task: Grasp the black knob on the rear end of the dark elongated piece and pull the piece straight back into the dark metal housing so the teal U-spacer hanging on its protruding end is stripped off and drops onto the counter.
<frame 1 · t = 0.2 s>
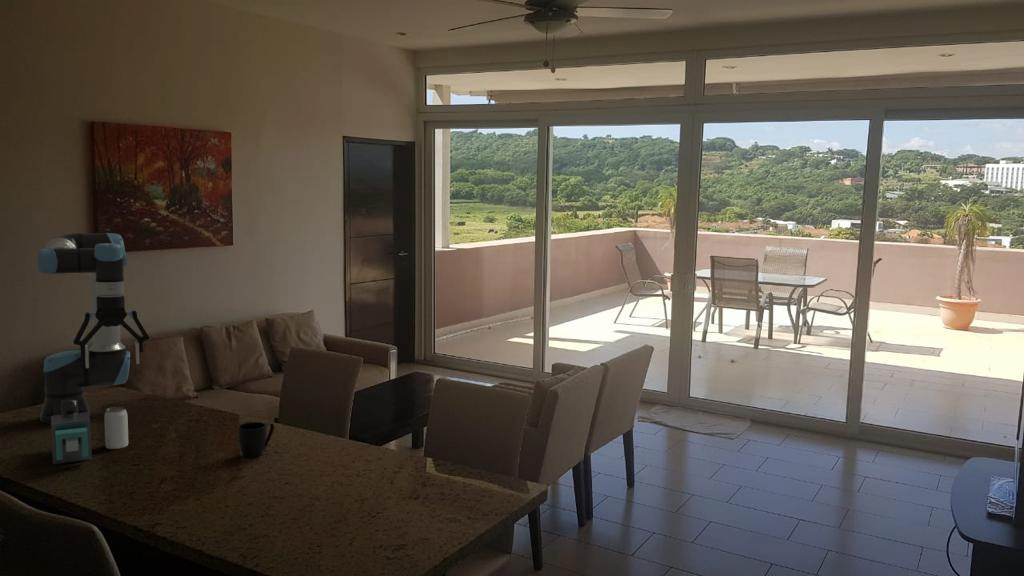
hand: (112, 365, 237), 28 cm above the table, fingers open, 13 cm apart
mug: (257, 454, 242), on the table
housing: (72, 456, 236), on the table
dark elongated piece: (70, 423, 234), point 10 cm above the table, slide at 0.0 cm, touching spacer
spacer: (72, 456, 228), point 3 cm above the table, touching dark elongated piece
can: (117, 447, 246), on the table
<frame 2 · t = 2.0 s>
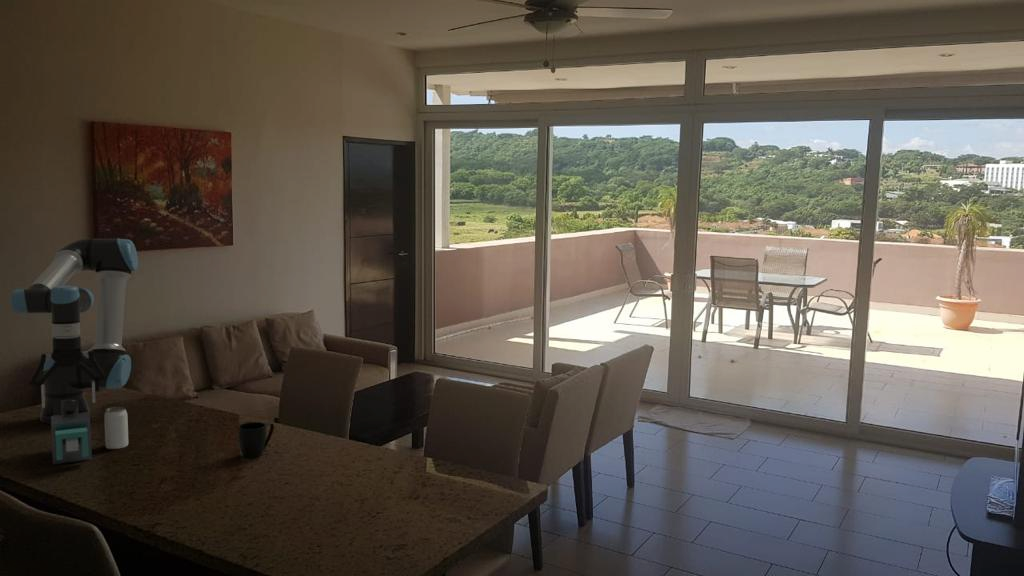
hand: (69, 404, 243), 14 cm above the table, fingers open, 13 cm apart
nothing on the table moved.
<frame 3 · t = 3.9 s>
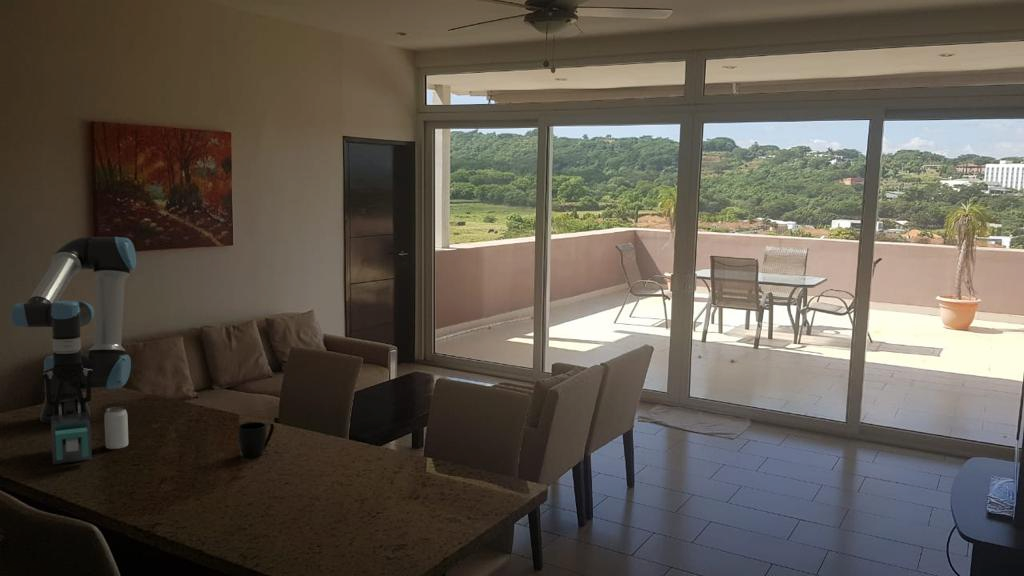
hand: (70, 425, 244), 7 cm above the table, fingers closed on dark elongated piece, 4 cm apart
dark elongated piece: (70, 423, 234), point 10 cm above the table, slide at 0.0 cm, touching gripper, spacer
everything else where it was.
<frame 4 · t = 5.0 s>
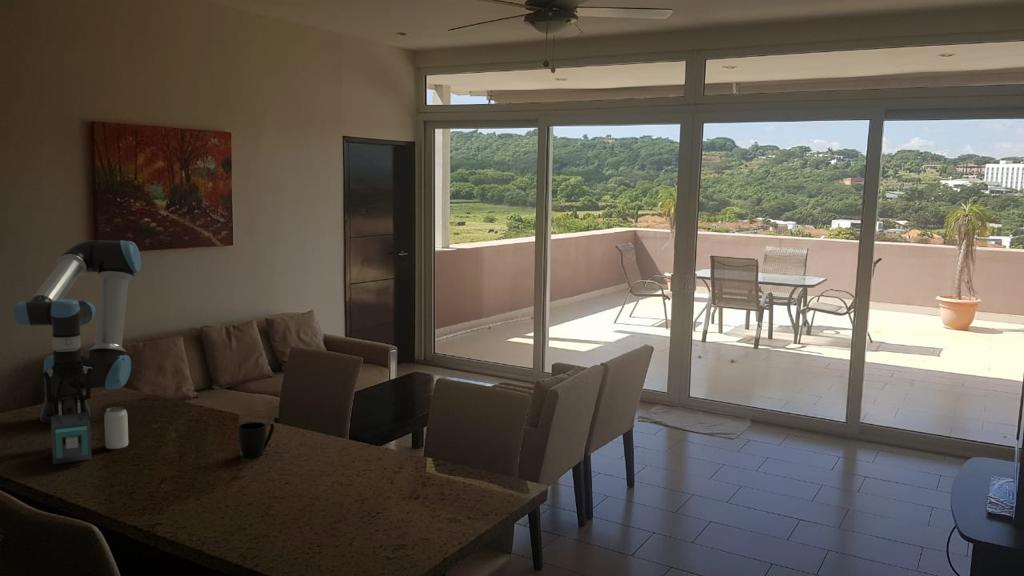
hand: (70, 422, 246), 7 cm above the table, fingers closed on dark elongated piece, 4 cm apart
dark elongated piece: (70, 421, 237), point 11 cm above the table, slide at 3.0 cm, touching gripper, spacer
spacer: (72, 454, 230), point 3 cm above the table, touching housing, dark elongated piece
everything else where it was.
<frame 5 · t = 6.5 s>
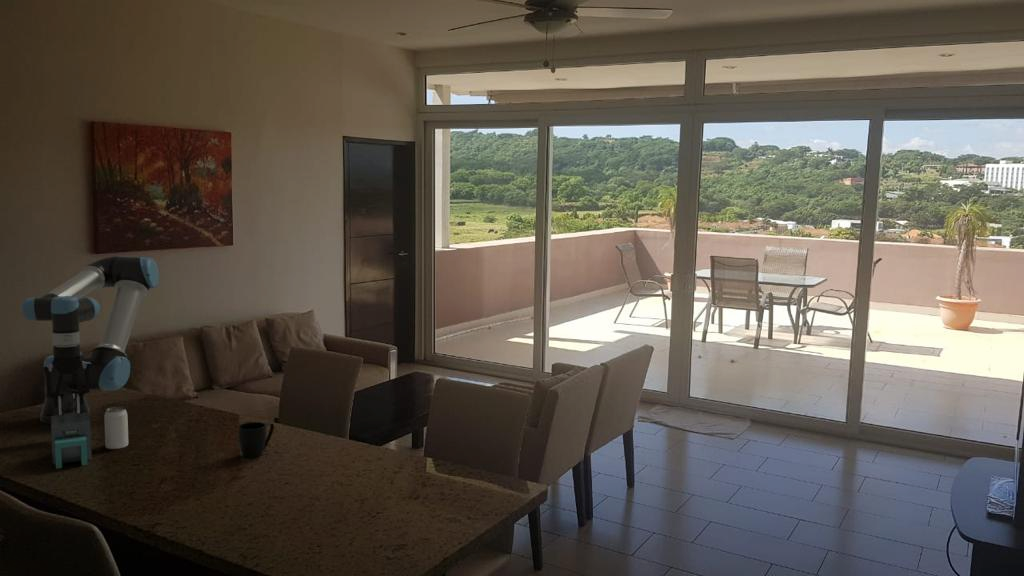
hand: (69, 415, 253), 7 cm above the table, fingers closed on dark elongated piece, 4 cm apart
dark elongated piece: (69, 414, 243), point 10 cm above the table, slide at 10.6 cm, touching gripper
spacer: (71, 464, 229), on the table
everything else where it was.
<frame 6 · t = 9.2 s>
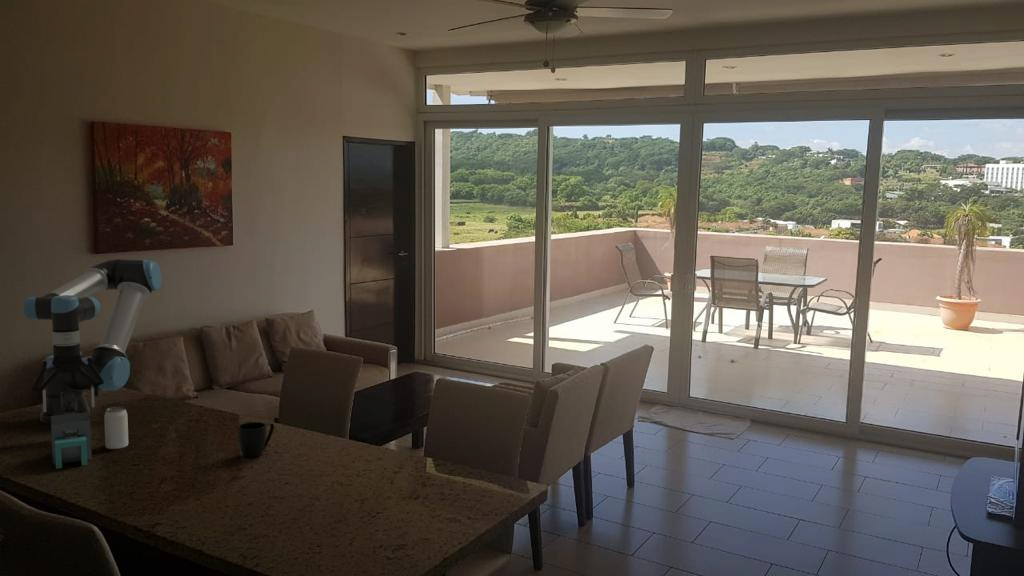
hand: (69, 408, 254), 9 cm above the table, fingers open, 13 cm apart
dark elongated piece: (69, 414, 244), point 10 cm above the table, slide at 11.4 cm
everything else where it was.
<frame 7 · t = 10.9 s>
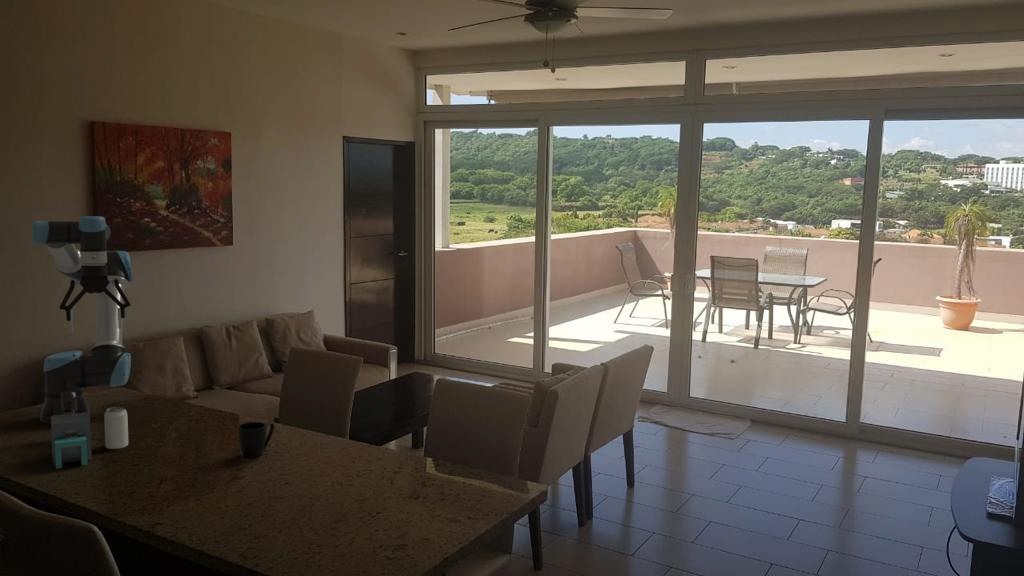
hand: (96, 329, 255), 35 cm above the table, fingers open, 13 cm apart
nothing on the table moved.
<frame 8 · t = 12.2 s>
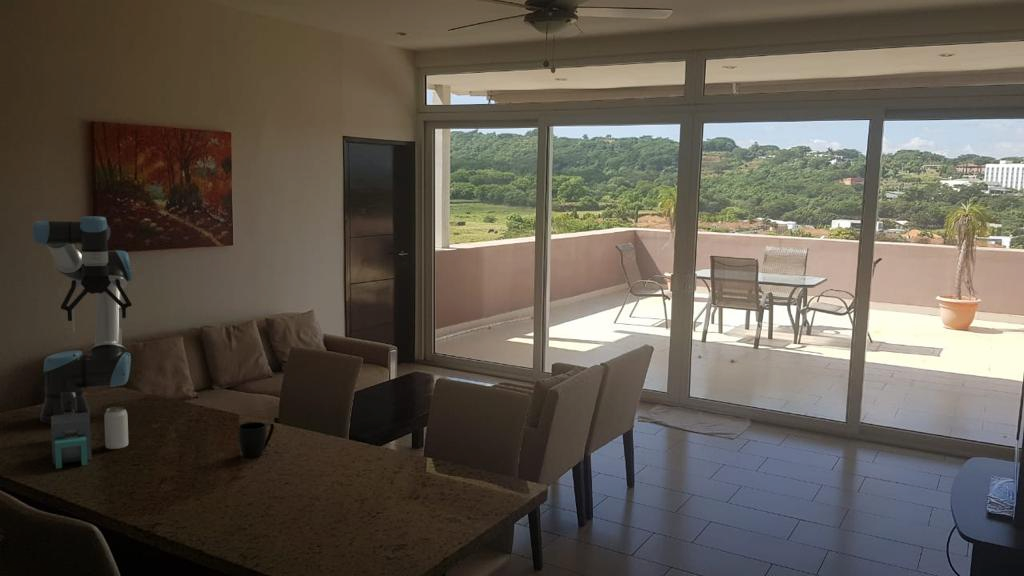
hand: (97, 329, 255), 35 cm above the table, fingers open, 13 cm apart
nothing on the table moved.
at the end: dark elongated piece slide at 11.4 cm; spacer on the table; spacer inside the target area (1.0 cm from its centre), on the table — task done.
